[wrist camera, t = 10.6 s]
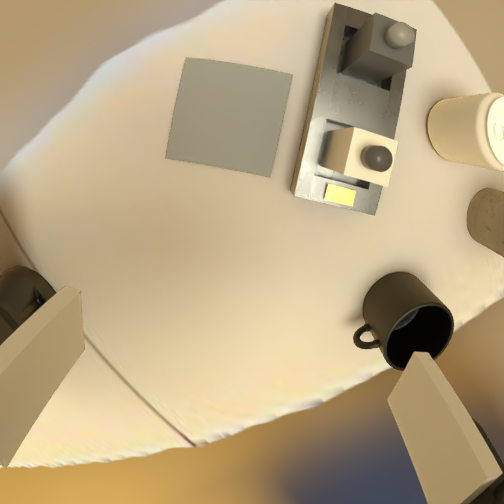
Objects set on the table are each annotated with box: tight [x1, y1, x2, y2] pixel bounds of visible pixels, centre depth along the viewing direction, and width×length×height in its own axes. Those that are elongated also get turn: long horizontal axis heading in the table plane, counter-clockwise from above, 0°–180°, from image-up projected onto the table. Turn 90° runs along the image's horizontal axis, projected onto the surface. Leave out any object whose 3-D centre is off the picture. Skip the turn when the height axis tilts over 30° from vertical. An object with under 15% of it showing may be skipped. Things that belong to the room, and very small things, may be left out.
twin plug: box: [340, 13, 416, 84], centre depth 24 cm, size 4×4×12 cm
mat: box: [165, 57, 292, 177], centre depth 33 cm, size 12×12×1 cm
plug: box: [320, 127, 398, 187], centre depth 27 cm, size 4×4×12 cm
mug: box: [353, 273, 454, 371], centre depth 36 cm, size 9×12×9 cm
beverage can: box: [428, 93, 504, 171], centre depth 27 cm, size 8×8×12 cm
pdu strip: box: [290, 3, 406, 216], centre depth 30 cm, size 22×9×5 cm, turn 168°
